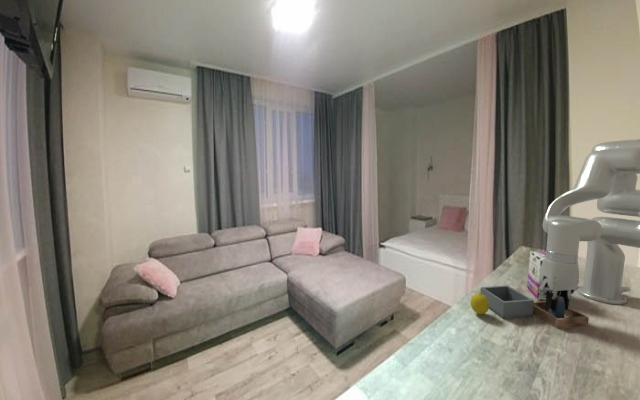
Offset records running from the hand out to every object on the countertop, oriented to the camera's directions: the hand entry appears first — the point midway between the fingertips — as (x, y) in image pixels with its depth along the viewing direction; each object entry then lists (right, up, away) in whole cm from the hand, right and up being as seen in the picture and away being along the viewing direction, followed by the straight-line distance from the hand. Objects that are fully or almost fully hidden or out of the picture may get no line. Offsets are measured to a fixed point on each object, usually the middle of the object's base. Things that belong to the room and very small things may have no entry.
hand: (556, 307), depth 83 cm
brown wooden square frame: (0, -4, 0) cm, 4 cm away
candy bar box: (+8, -2, +15) cm, 17 cm away
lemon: (-24, -4, +4) cm, 25 cm away
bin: (-13, -3, +7) cm, 15 cm away
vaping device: (0, -4, 0) cm, 4 cm away
